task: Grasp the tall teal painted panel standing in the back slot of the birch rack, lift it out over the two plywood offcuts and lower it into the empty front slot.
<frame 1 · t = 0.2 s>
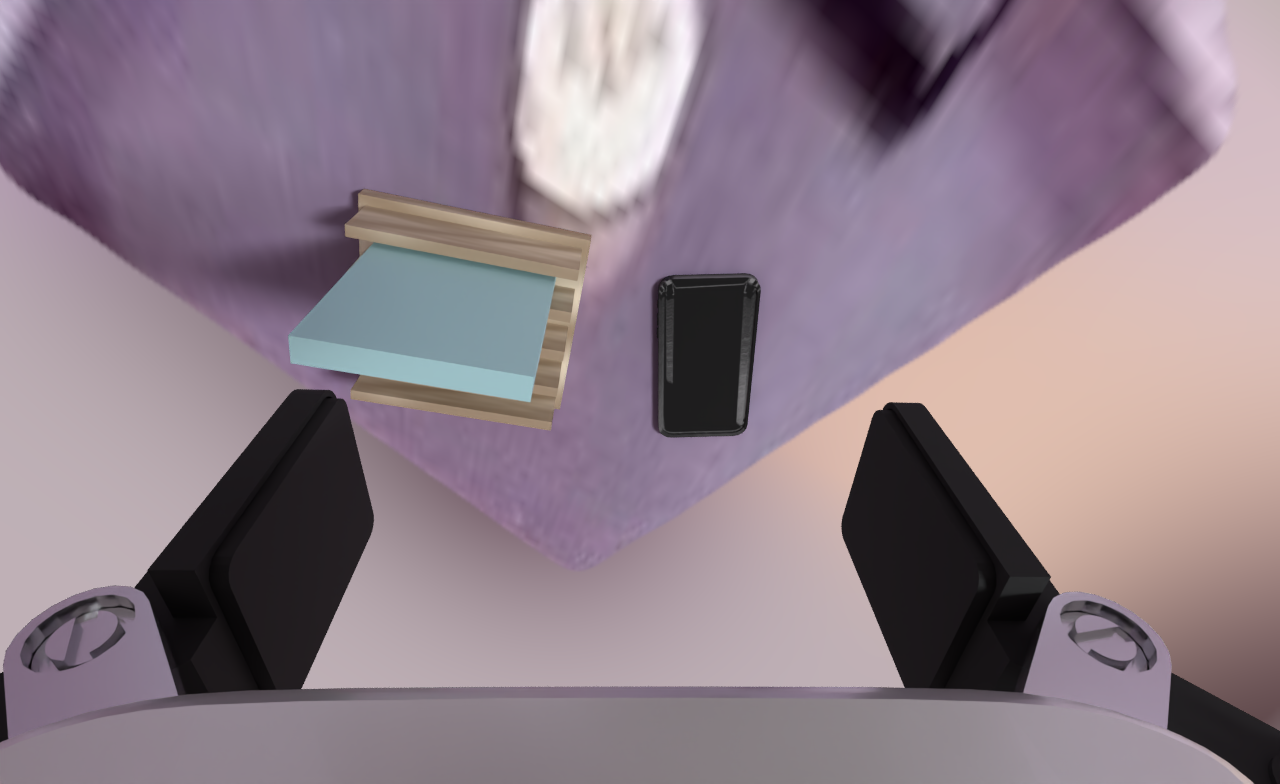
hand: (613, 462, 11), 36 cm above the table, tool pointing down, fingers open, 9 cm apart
phone: (703, 355, 53), on the table
tall sheet: (474, 254, 45), point 1 cm above the table, touching rack
rack: (472, 306, 49), on the table
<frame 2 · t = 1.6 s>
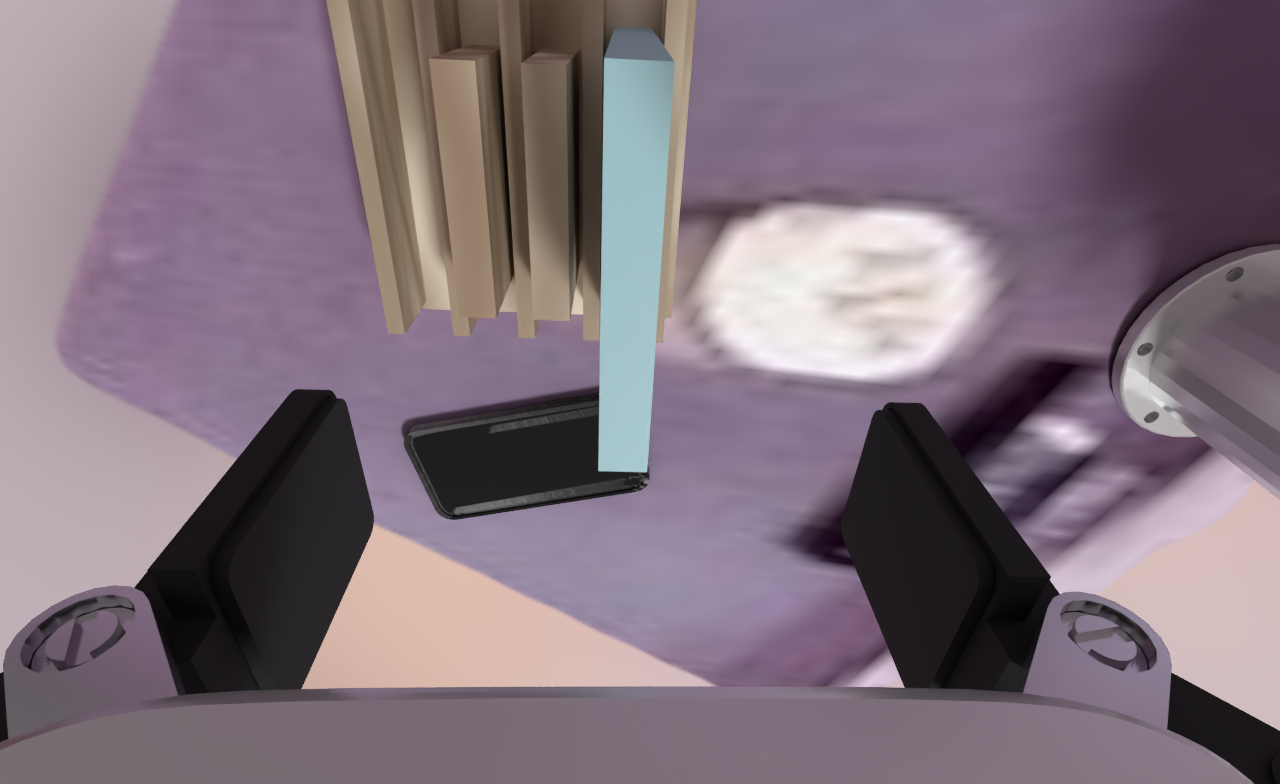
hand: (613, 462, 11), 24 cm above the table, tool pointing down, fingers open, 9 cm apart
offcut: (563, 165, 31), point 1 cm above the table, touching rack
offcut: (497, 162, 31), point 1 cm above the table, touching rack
phone: (531, 449, 42), on the table
tall sheet: (628, 167, 31), point 1 cm above the table, touching rack
rack: (533, 158, 32), on the table
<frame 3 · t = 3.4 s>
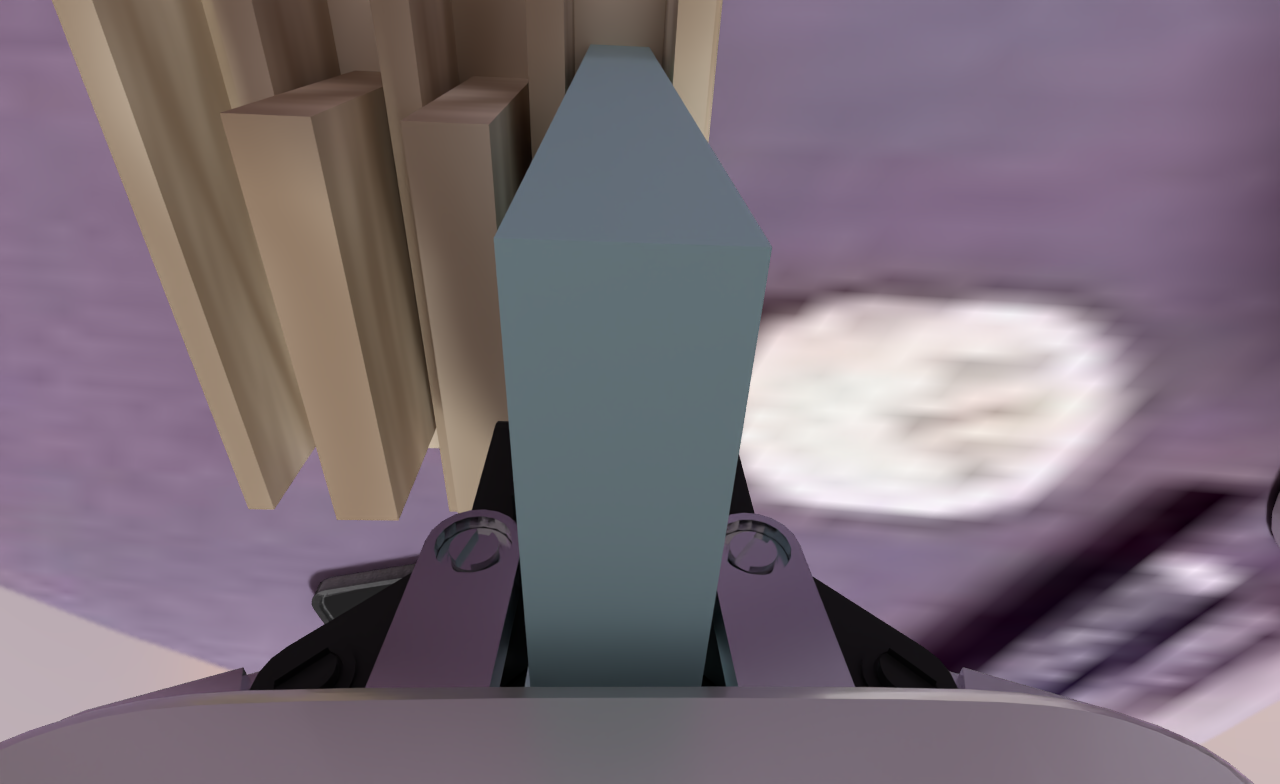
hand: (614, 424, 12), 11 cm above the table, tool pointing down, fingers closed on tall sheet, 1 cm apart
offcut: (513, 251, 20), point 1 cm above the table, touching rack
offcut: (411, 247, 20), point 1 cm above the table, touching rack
phone: (489, 599, 32), on the table
tall sheet: (614, 257, 20), point 1 cm above the table, touching gripper
rack: (470, 236, 21), on the table
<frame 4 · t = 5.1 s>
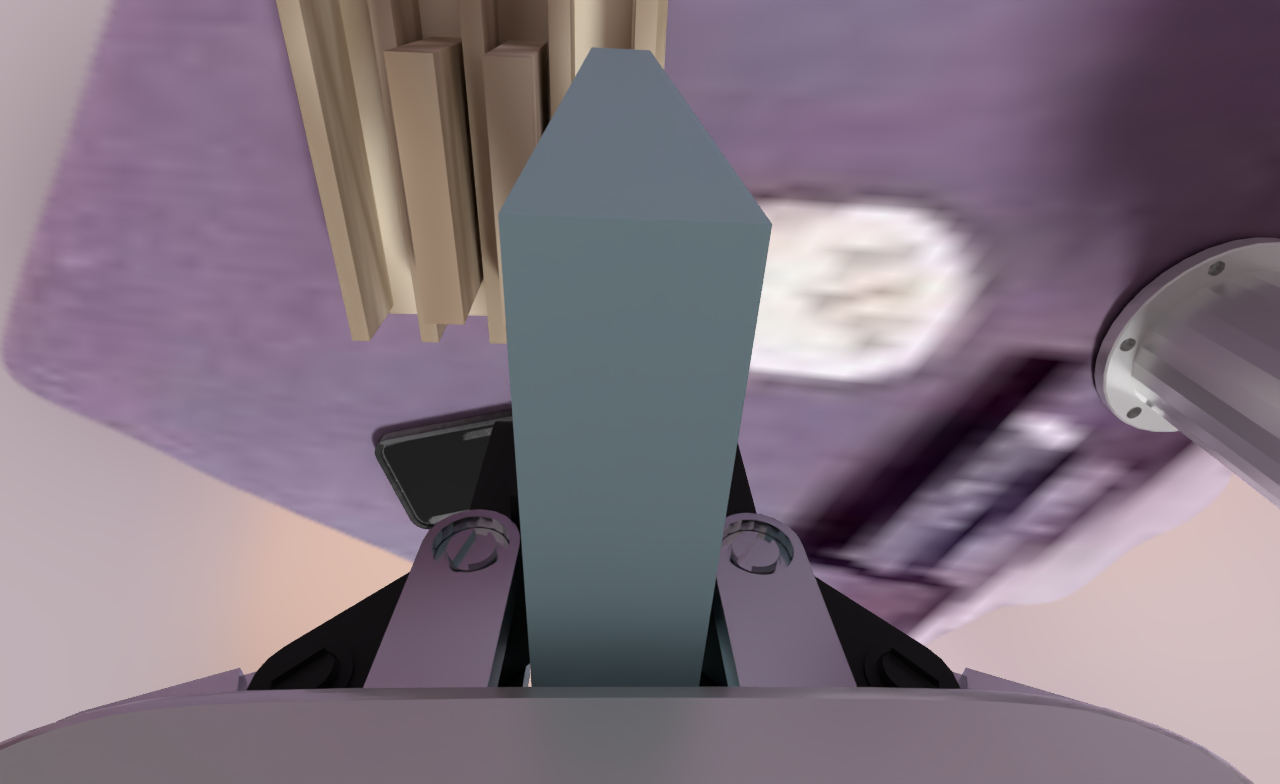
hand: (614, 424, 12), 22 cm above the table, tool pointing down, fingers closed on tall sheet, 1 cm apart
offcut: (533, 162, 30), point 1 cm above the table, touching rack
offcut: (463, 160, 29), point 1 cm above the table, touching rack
phone: (508, 455, 41), on the table
tall sheet: (615, 259, 20), point 13 cm above the table, touching gripper
rack: (502, 155, 31), on the table
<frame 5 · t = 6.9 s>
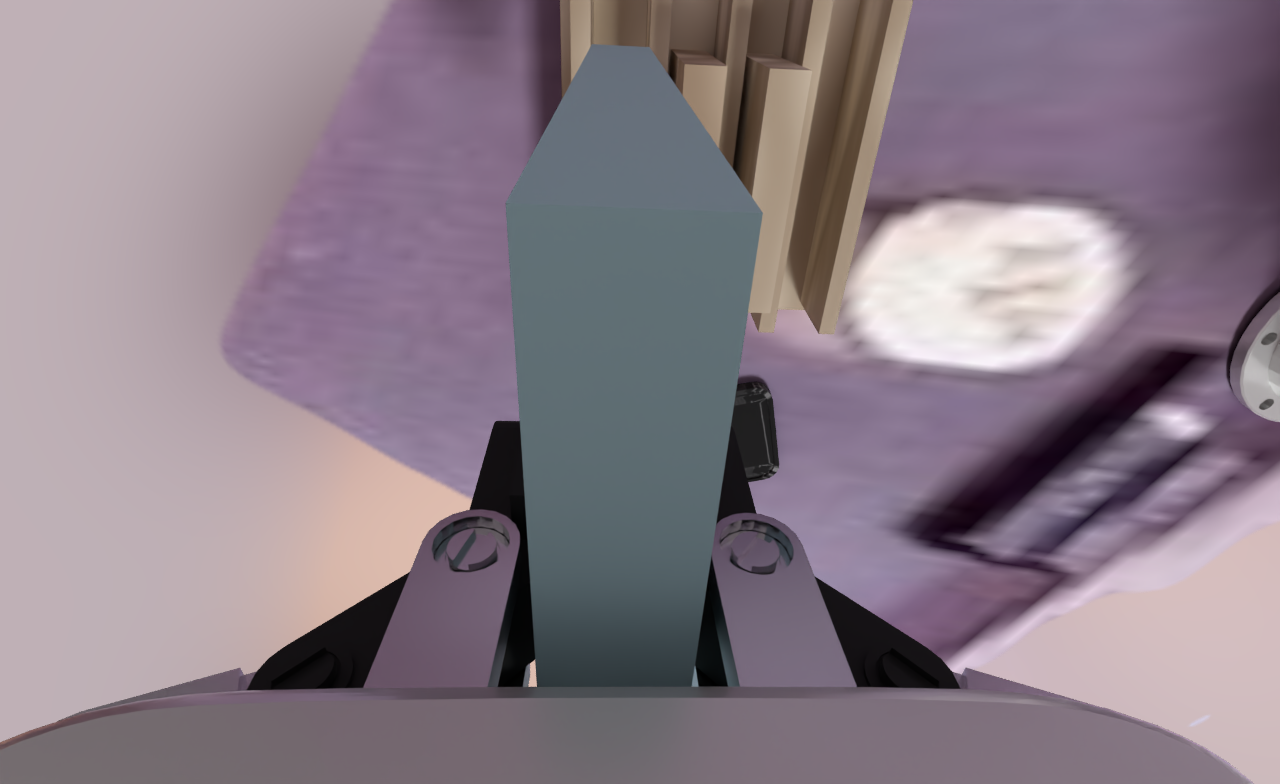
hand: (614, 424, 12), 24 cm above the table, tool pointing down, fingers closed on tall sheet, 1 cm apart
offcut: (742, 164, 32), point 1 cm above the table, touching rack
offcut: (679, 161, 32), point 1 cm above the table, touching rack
phone: (664, 440, 44), on the table
tall sheet: (615, 254, 21), point 15 cm above the table, touching gripper
rack: (708, 157, 33), on the table
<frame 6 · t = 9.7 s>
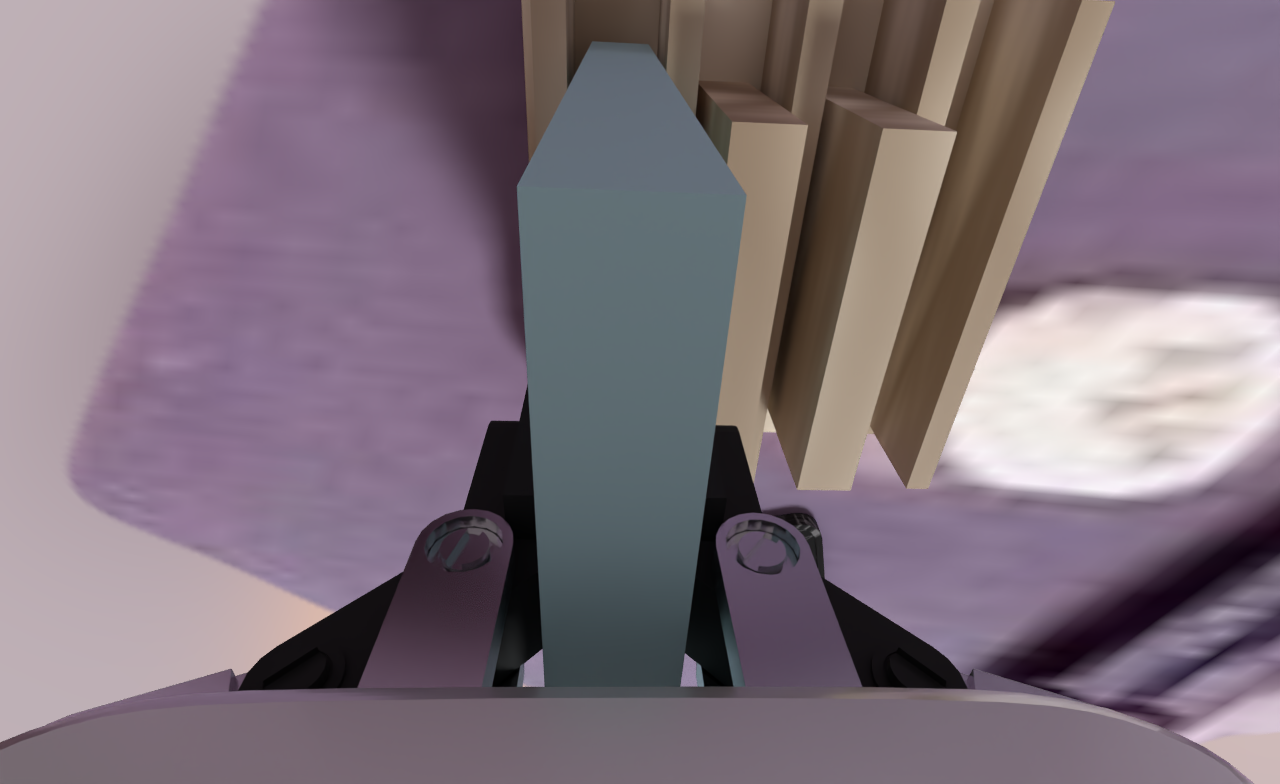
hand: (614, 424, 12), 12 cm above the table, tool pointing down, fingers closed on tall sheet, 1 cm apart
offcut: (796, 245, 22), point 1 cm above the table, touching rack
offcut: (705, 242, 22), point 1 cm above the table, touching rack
phone: (675, 578, 33), on the table
tall sheet: (615, 247, 21), point 2 cm above the table, touching gripper
rack: (745, 232, 23), on the table
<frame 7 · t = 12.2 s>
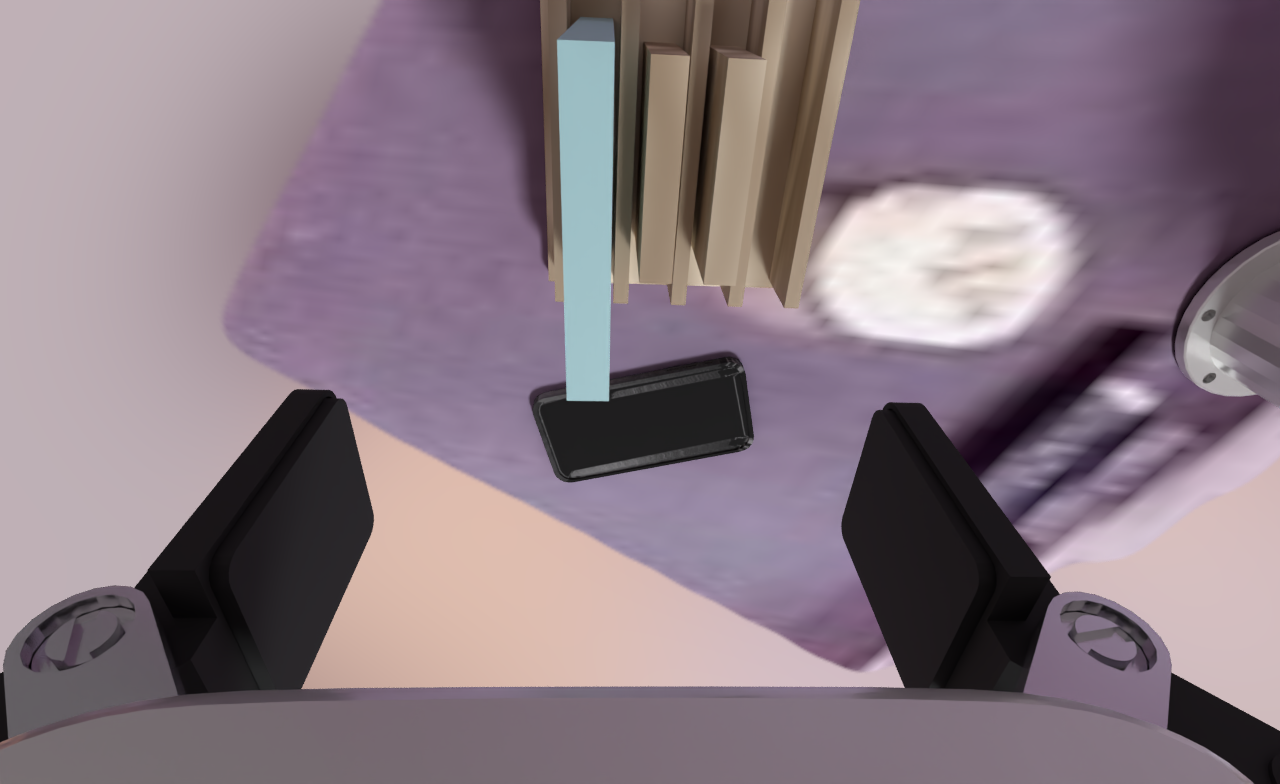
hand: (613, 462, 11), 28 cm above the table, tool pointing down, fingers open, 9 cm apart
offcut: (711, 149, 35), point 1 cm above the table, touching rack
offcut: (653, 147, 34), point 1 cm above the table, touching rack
phone: (644, 414, 46), on the table
tall sheet: (596, 146, 34), point 1 cm above the table, touching rack
rack: (680, 143, 35), on the table
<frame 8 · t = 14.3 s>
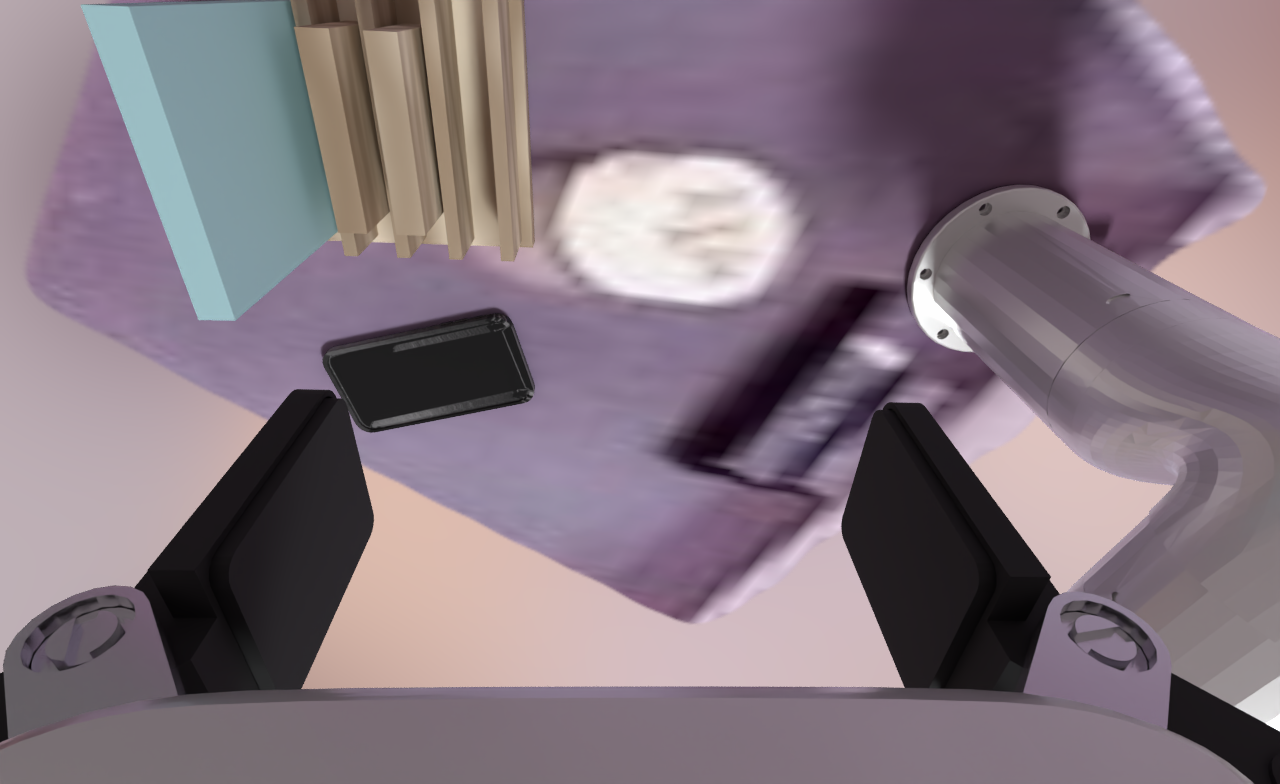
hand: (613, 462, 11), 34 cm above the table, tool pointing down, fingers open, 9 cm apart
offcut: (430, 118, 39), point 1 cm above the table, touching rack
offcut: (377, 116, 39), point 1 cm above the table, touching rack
phone: (434, 369, 50), on the table
tall sheet: (325, 115, 38), point 1 cm above the table, touching rack
rack: (409, 113, 40), on the table
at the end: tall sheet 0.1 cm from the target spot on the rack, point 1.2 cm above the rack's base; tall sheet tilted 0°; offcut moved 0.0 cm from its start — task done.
